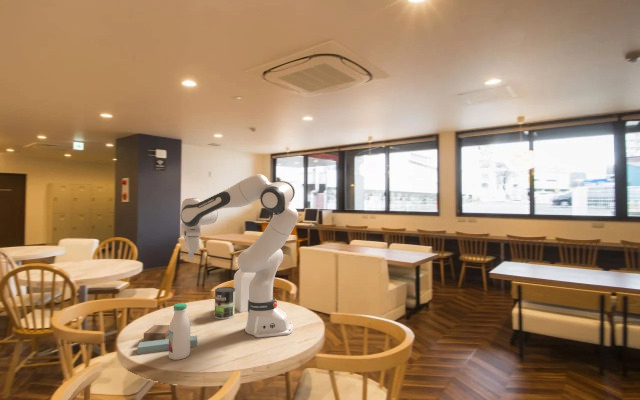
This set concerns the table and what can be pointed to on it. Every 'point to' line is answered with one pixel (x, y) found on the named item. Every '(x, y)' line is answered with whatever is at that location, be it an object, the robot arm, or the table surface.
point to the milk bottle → (179, 333)
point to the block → (157, 333)
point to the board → (160, 345)
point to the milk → (242, 289)
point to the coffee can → (224, 302)
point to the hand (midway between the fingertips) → (190, 259)
